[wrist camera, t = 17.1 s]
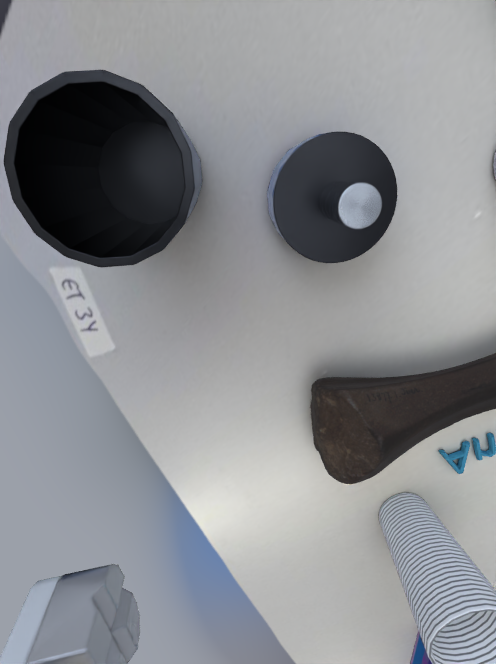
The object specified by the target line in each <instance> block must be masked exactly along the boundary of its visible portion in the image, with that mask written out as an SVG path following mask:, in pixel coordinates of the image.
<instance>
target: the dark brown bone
mask: <svg viewBox="0 0 496 664" xmlns="http://www.w3.org/2000/svg"><path fill="white" fill-rule="evenodd" d="M311 391H312V400H311V418H312V430H313V436H314V445H315V448H316V450H317V451H319V454H320V456H321V459H322V461H323V463H324V466H325V469H326V470H327V472H328V474H329V475H330V476H332V477H333V478H335V479H336V480H338V481H339V482H341V483H345V484H354V483H358V482H361V481H364V480H366V479H369V478H371V477H373V476H375V475H376V474H378V473H379V472H380V471H382V470H383V469H384V468H386V467H387V466H388V465H389V464H390V463H392V462H393V461H394V460H395V459H397V458H398V457H399V456H401V455H402V454H404V453H405V452H406V451H407V450H409V449H410V448H412V447H413V446H415V445H416V444H417V443H419V442H421V441H422V440H424V439H425V438H427V437H429V436H431V435H432V434H434V433H436V432H438V431H439V430H442V429H444V428H446V427H448V426H450V425H452V424H454V423H456V422H458V421H460V420H463V419H465V418H467V417H471V416H473V415H476V414H480V413H482V412H485V411H489V410H492V409H496V353H494V354H492V355H489V356H487V357H484V358H481V359H478V360H476V361H472V362H469V363H466V364H463V365H460V366H456V367H452V368H449V369H445V370H440V371H435V372H431V373H425V374H419V375H411V376H401V377H386V378H351V377H346V378H344V377H332V378H322V379H318V380H316V381H315V382H314V383H313V385H312V390H311Z"/></svg>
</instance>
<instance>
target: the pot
mask: <svg viewBox="0 0 496 664" xmlns="http://www.w3.org/2000/svg"><path fill="white" fill-rule="evenodd" d="M4 166H5V171H6V175H7V179H8V183H9V187H10V191H11V195H12V199H13V201H14V203H15V205H16V206H17V208H18V209H19V211H20V212H21V214H22V215H23V217H24V218H25V220H26V221H27V223H28V224H29V226H30V227H31V229H32V230H33V232H34V233H36V235H37V236H38V237H40V238H41V239H42V240H44V241H45V242H46V243H48V244H49V245H50V246H52V247H53V248H54V249H56V250H57V251H58V252H60V253H61V254H62V255H64V256H66V257H68V258H71V259H74V260H78V261H81V262H84V263H87V264H91V265H94V266H97V267H112V266H125V265H134V264H137V263H139V262H141V261H143V260H145V259H146V258H148V257H150V256H152V255H154V254H156V253H158V252H160V251H162V250H163V249H165V248H166V246H167V245H168V244H169V243H170V241H171V240H172V239H173V238H174V236H175V235H176V234H177V233H178V232H179V230H180V229H181V228H182V227H183V225H184V224H185V222H186V221H187V219H188V217H189V215H190V213H191V212H192V210H193V208H194V206H195V204H196V203H197V199H198V196H199V193H200V189H201V186H202V170H201V161H200V158H199V156H198V154H197V152H196V150H195V148H194V146H193V144H192V142H191V139H190V138H189V136H188V135H187V134H186V132H185V131H184V129H183V128H182V126H181V125H180V123H179V122H178V120H177V119H176V117H175V116H174V115H173V113H172V112H171V111H170V110H169V109H168V108H167V107H165V106H164V105H163V104H162V103H161V102H160V101H159V100H158V99H157V98H156V97H155V96H154V95H153V94H152V93H151V92H149V91H148V90H147V89H146V88H145V87H144V86H143V85H141V84H139V83H136V82H134V81H131V80H129V79H126V78H123V77H121V76H118V75H116V74H113V73H111V72H108V71H105V70H90V71H71V72H64V73H61V74H59V75H58V76H56V77H54V78H52V79H50V80H49V81H47V82H45V83H43V84H42V85H40V86H38V87H36V88H35V89H33V90H31V92H29V94H28V95H27V97H26V98H25V100H24V101H23V103H22V104H21V106H20V107H19V109H18V110H17V112H16V114H15V115H14V117H13V118H12V120H11V121H10V124H9V128H8V135H7V141H6V148H5V155H4Z"/></svg>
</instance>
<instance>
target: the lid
mask: <svg viewBox="0 0 496 664" xmlns="http://www.w3.org/2000/svg"><path fill="white" fill-rule="evenodd" d="M396 201H397V184H396V178H395V174H394V170H393V168H392V166H391V163H390V162H389V160H388V158H387V156H386V155H385V154H384V153H383V151H382V150H381V149H380V148H379V147H378V146H377V145H376V144H374V143H373V142H372V141H370V140H369V139H367V138H365V137H363V136H361V135H357V134H354V133H349V132H331V133H326V134H322V135H319V136H317V137H314V138H312V139H310V140H308V141H307V142H305V143H303V144H302V145H301V146H300V147H298V148H297V149H296V150H295V151H294V152H293V153H292V154H291V155H290V156H289V158H288V159H287V160H286V162H285V163H284V165H283V166H282V168H281V170H280V172H279V175H278V177H277V180H276V183H275V187H274V193H273V211H274V217H275V221H276V224H277V226H278V229H279V231H280V233H281V235H282V236H283V238H284V239H285V240H286V242H287V243H288V244H289V245H290V246H291V247H292V248H293V249H294V250H295V251H297V252H298V253H299V254H301V255H303V256H304V257H306V258H309V259H311V260H314V261H318V262H323V263H338V262H344V261H347V260H351V259H353V258H356V257H358V256H360V255H361V254H363V253H365V252H366V251H368V250H369V249H370V248H371V247H373V246H374V245H375V244H376V243H377V242H378V241H379V239H380V238H381V237H382V236H383V234H384V233H385V231H386V230H387V228H388V226H389V224H390V222H391V220H392V217H393V215H394V211H395V207H396Z"/></svg>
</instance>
